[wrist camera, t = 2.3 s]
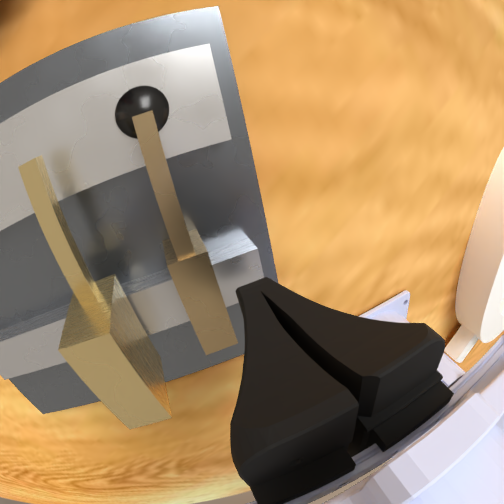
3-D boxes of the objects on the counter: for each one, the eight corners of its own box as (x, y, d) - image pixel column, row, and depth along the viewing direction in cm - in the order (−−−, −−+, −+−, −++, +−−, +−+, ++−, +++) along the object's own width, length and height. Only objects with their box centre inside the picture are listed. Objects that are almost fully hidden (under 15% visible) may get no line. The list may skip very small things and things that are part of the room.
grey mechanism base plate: (282, 327, 18) (305, 361, 16) (44, 405, 15) (40, 441, 12) (213, 11, 10) (235, -16, 7) (-93, 167, 6) (-126, 182, 3)
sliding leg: (160, 357, 13) (172, 417, 10) (125, 368, 13) (129, 429, 10) (64, 145, 8) (27, 158, 5) (20, 167, 8) (-28, 191, 5)
